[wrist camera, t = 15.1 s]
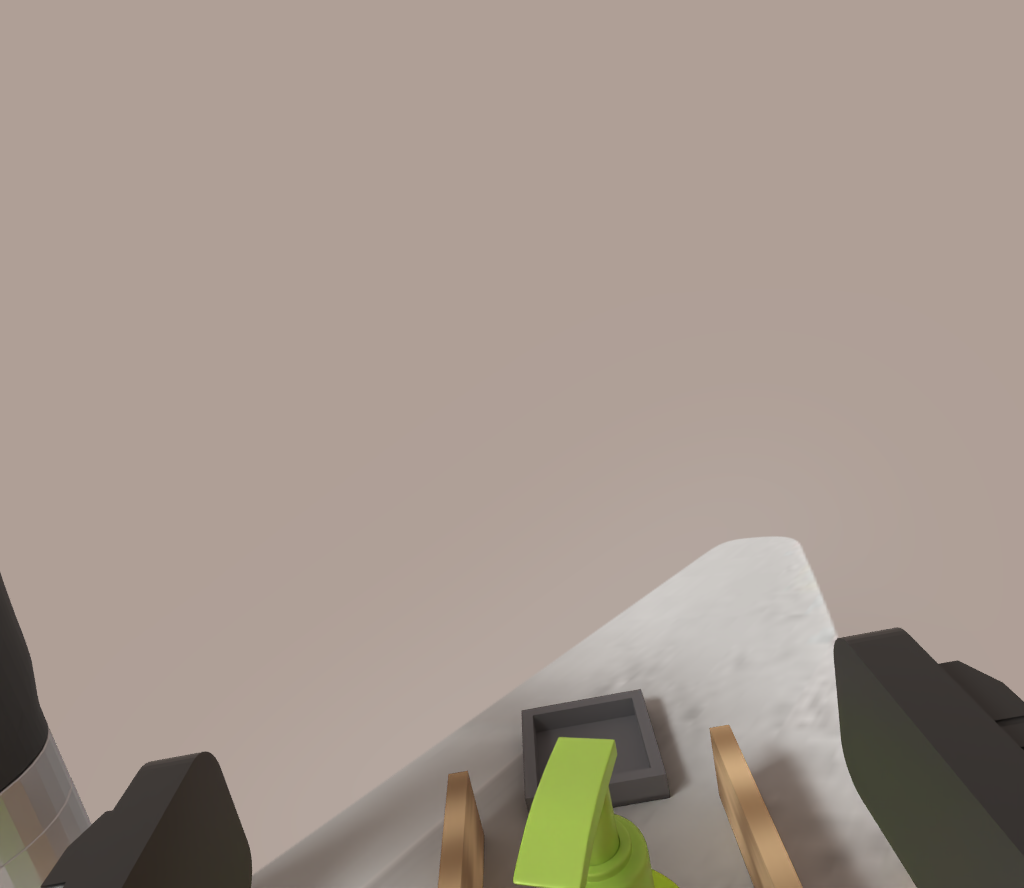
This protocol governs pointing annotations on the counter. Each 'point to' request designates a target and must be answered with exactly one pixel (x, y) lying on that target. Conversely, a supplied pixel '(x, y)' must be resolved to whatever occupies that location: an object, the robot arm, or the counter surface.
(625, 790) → the pit tray
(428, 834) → the counter surface
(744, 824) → the oak channel
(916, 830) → the robot arm
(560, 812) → the soap dispenser
